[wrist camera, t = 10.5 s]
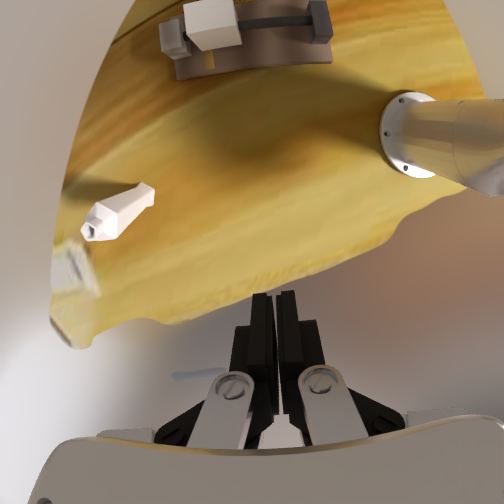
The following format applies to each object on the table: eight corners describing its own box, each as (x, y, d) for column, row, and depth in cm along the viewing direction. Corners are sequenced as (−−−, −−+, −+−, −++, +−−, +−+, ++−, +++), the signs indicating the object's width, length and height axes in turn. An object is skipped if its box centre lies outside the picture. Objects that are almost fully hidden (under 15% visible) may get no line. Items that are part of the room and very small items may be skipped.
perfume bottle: (163, 202, 40) (115, 242, 26) (139, 214, 41) (87, 257, 27) (149, 174, 38) (93, 202, 25) (126, 188, 39) (67, 220, 26)
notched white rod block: (238, 18, 27) (231, -6, 20) (242, 44, 28) (236, 25, 22) (198, 25, 27) (183, 4, 21) (202, 51, 29) (186, 34, 22)
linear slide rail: (318, 2, 27) (327, -18, 21) (330, 63, 31) (342, 52, 25) (172, 20, 29) (157, 4, 23) (179, 81, 33) (163, 74, 27)
